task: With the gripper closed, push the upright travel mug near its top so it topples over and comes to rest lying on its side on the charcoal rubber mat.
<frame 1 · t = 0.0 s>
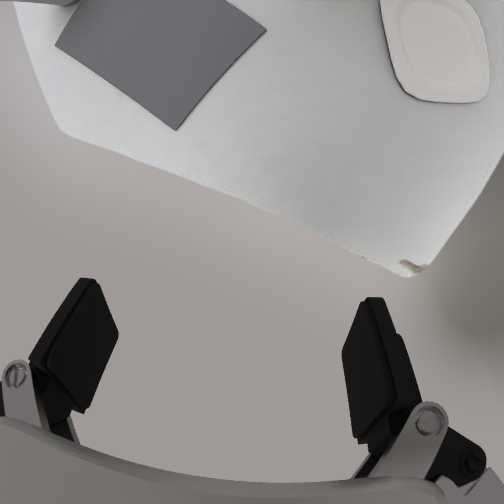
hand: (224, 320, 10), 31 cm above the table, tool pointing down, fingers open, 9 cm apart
plate: (437, 42, 25), on the table
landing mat: (145, 28, 27), on the table
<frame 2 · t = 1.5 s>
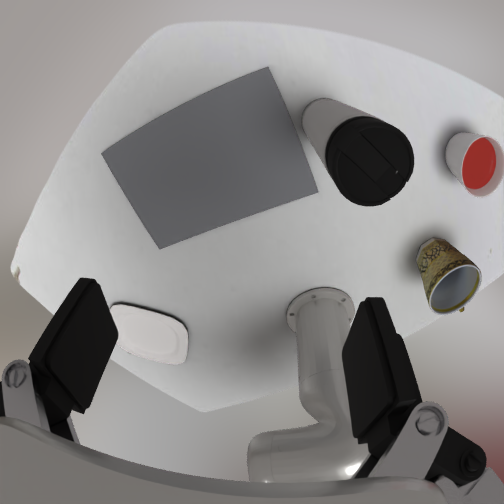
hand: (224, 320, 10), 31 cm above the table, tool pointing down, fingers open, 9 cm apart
candle: (460, 153, 33), on the table
ceramic cup: (434, 258, 44), on the table
travel mug: (324, 120, 33), on the table
plate: (150, 331, 59), on the table
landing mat: (204, 166, 38), on the table
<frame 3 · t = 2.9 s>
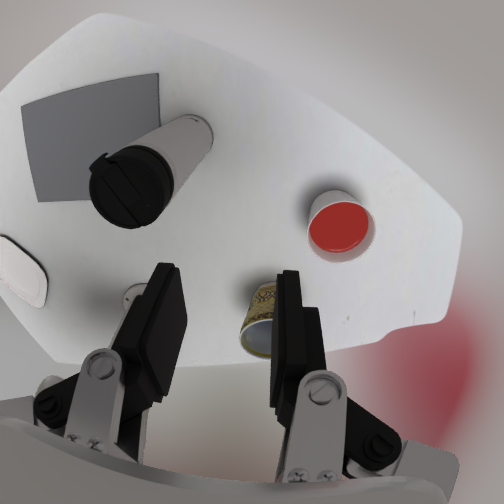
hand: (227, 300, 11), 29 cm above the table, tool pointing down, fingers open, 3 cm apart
candle: (333, 211, 40), on the table
ceramic cup: (275, 301, 51), on the table
travel mug: (190, 135, 35), on the table
plate: (22, 270, 53), on the table
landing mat: (84, 144, 36), on the table
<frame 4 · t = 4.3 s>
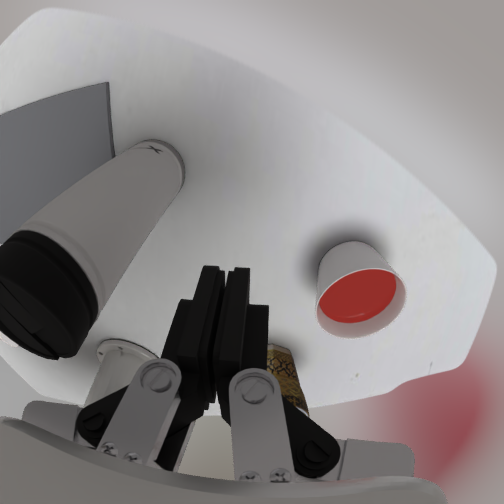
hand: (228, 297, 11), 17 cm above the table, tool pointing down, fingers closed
candle: (348, 266, 30), on the table
ceramic cup: (272, 362, 41), on the table
travel mug: (153, 168, 25), on the table
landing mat: (30, 179, 26), on the table
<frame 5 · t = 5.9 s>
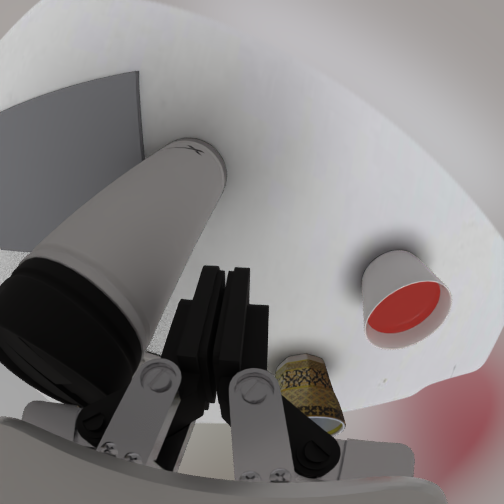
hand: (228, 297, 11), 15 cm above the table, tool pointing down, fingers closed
candle: (390, 274, 28), on the table
ceramic cup: (303, 371, 39), on the table
travel mug: (190, 171, 23), on the table
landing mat: (42, 181, 24), on the table
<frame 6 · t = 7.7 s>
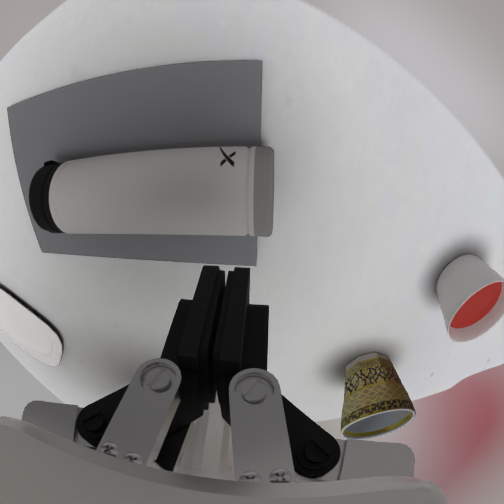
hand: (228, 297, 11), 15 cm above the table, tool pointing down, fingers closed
candle: (458, 276, 28), on the table
ceramic cup: (367, 369, 38), on the table
travel mug: (275, 189, 20), point 4 cm above the table, touching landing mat
plate: (27, 324, 40), on the table
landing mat: (114, 173, 23), on the table
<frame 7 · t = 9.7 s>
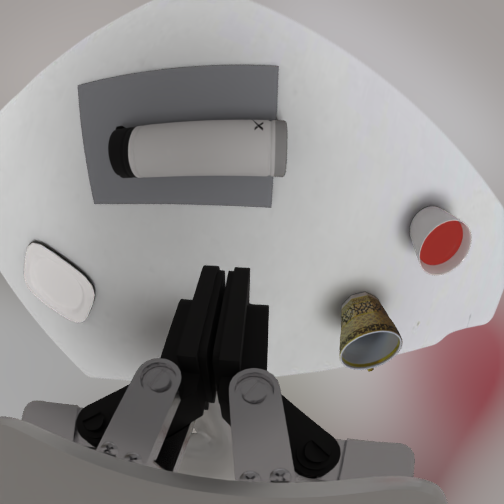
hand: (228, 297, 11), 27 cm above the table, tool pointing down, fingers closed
candle: (427, 225, 38), on the table
ceramic cup: (359, 311, 48), on the table
travel mug: (287, 147, 30), point 4 cm above the table, touching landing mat
plate: (59, 281, 50), on the table
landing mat: (169, 137, 33), on the table
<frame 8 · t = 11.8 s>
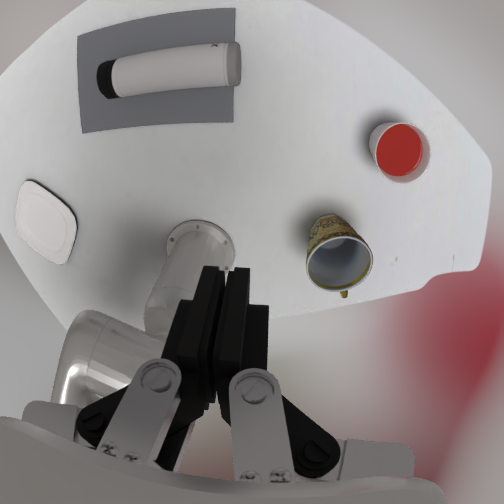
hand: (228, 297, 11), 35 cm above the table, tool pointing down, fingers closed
candle: (387, 142, 39), on the table
ceramic cup: (330, 237, 50), on the table
travel mug: (240, 62, 31), point 4 cm above the table, touching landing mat
plate: (46, 221, 52), on the table
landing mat: (148, 70, 35), on the table
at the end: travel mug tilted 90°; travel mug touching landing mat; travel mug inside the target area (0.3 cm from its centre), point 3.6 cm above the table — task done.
